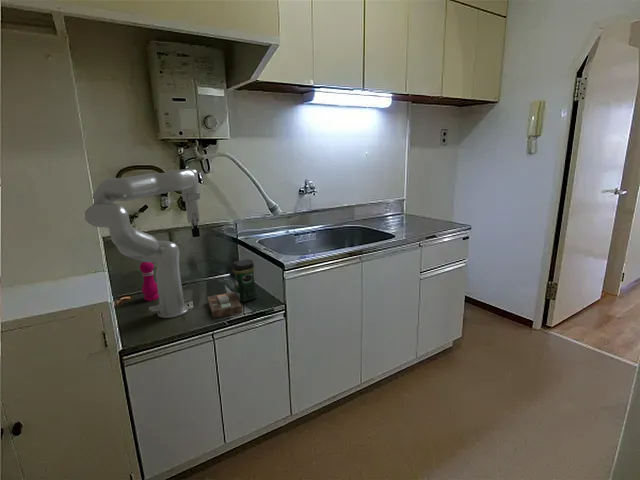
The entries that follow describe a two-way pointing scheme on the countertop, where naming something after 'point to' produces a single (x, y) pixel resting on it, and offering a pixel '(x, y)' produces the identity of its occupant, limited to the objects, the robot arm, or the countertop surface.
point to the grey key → (223, 299)
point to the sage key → (225, 305)
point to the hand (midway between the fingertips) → (196, 236)
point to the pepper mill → (149, 282)
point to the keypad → (216, 307)
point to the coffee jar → (244, 280)
